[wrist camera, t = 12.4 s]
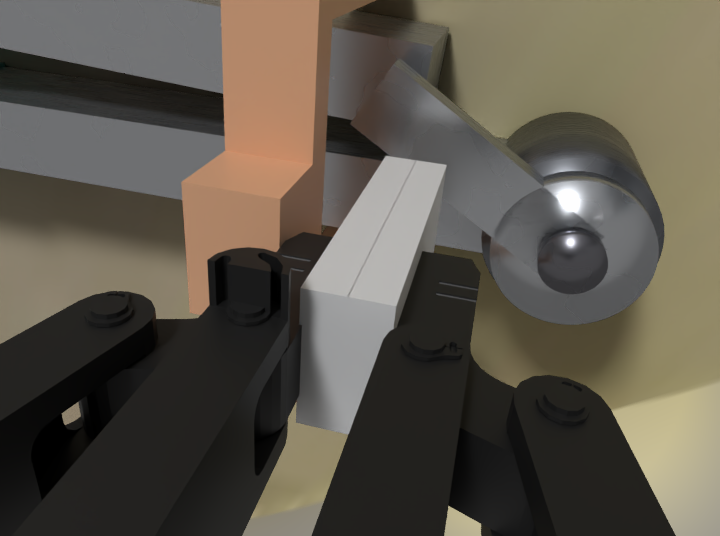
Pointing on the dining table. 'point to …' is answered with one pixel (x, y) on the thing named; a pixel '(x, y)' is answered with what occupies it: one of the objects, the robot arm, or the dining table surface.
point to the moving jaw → (393, 139)
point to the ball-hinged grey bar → (207, 140)
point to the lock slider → (264, 134)
